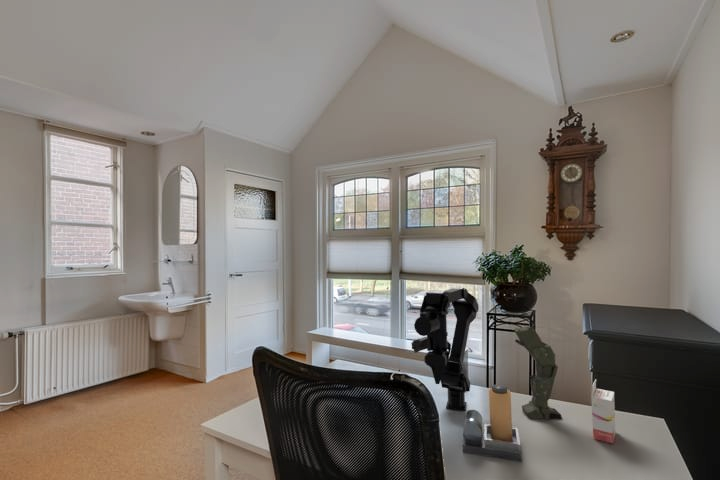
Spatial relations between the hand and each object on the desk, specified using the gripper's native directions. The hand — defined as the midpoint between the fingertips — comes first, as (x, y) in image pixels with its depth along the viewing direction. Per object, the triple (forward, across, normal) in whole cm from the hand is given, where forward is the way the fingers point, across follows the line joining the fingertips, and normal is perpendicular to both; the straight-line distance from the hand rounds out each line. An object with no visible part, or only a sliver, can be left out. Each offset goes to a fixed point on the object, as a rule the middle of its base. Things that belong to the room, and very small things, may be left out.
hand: (439, 378), depth 114 cm
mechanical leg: (+13, -13, +30) cm, 35 cm away
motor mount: (+13, +11, +15) cm, 23 cm away
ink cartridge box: (+13, -4, +46) cm, 48 cm away
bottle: (+11, +11, +18) cm, 24 cm away
